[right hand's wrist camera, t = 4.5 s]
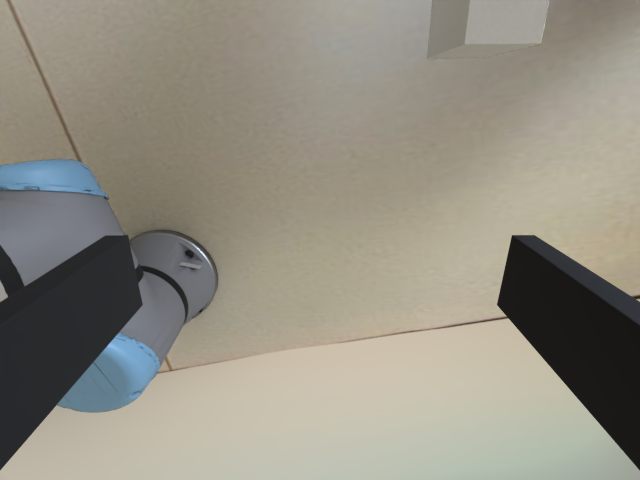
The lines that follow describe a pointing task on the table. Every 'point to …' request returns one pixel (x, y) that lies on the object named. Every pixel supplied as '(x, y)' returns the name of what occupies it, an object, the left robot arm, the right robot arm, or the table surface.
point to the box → (484, 27)
